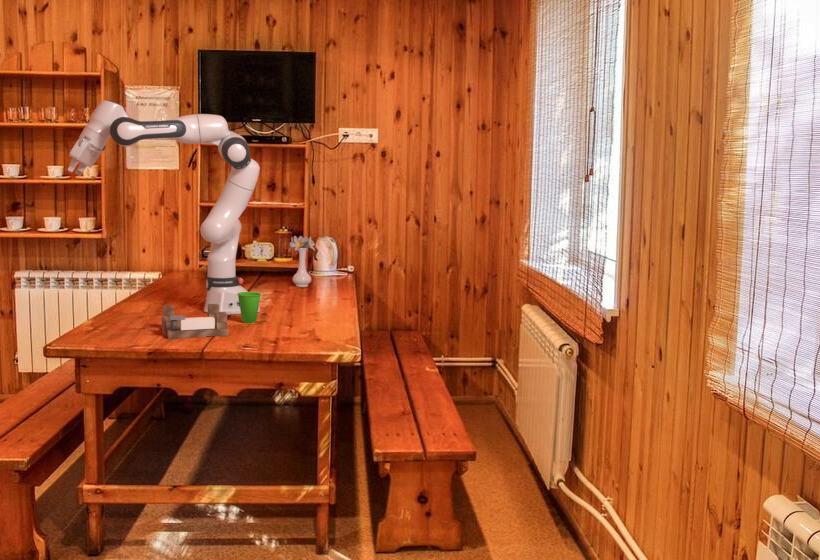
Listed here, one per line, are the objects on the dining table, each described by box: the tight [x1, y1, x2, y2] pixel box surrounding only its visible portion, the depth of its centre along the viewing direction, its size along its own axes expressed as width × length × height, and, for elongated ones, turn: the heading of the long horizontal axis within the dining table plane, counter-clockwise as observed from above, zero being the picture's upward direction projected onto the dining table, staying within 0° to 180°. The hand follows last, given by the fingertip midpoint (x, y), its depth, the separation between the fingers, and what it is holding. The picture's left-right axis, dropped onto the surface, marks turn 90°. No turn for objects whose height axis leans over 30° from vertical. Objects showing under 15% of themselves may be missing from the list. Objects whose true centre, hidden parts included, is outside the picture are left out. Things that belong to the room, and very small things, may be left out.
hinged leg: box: [170, 314, 215, 330], centre depth 275 cm, size 15×4×5 cm, turn 113°
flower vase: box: [288, 235, 316, 288], centre depth 393 cm, size 13×18×25 cm
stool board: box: [161, 304, 229, 340], centre depth 283 cm, size 21×20×8 cm
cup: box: [237, 291, 262, 324], centre depth 302 cm, size 9×9×11 cm
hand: (73, 173), depth 290 cm, fingers open, 8 cm apart
